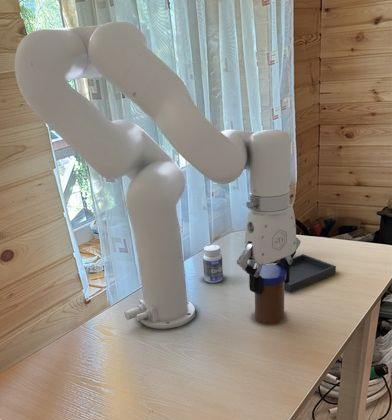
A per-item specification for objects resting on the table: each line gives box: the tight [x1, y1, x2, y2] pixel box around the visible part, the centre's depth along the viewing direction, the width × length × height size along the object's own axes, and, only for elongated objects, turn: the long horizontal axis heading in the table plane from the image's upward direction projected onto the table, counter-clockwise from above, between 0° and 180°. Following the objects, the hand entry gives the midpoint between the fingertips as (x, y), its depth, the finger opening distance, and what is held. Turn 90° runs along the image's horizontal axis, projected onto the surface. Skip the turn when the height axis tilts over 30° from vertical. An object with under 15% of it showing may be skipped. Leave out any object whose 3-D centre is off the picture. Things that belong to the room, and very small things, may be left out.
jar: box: [254, 281, 286, 325], centre depth 108 cm, size 6×6×10 cm
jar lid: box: [260, 264, 287, 285], centre depth 105 cm, size 7×7×2 cm
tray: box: [274, 253, 337, 293], centre depth 127 cm, size 15×11×2 cm
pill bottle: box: [202, 244, 224, 284], centre depth 127 cm, size 5×5×8 cm
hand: (269, 286), depth 107 cm, fingers closed on jar lid, 6 cm apart
